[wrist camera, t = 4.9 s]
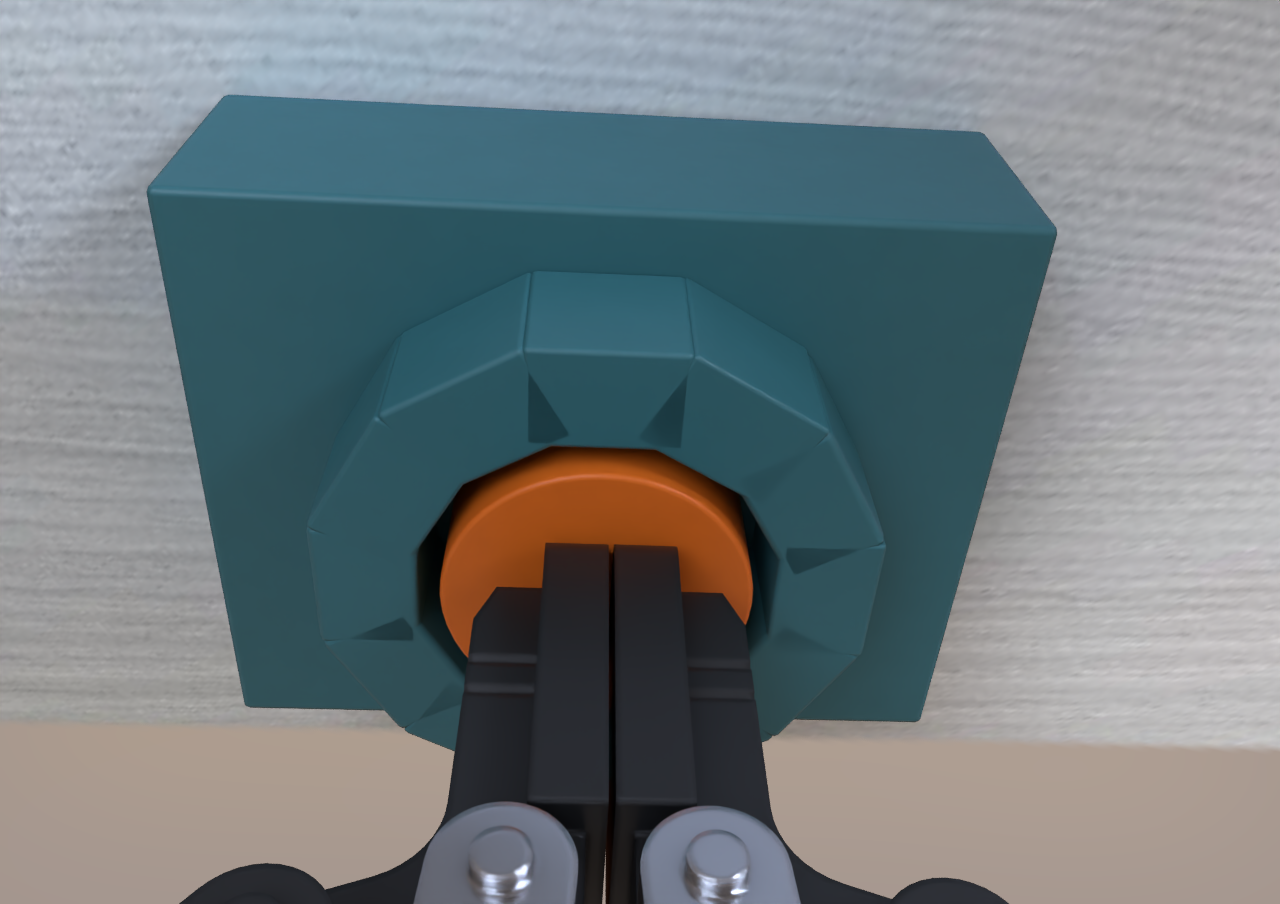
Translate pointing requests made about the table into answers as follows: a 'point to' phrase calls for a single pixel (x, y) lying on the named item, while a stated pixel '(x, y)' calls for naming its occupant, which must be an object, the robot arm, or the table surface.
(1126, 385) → the table surface
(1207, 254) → the table surface
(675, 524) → the power button
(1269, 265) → the table surface
